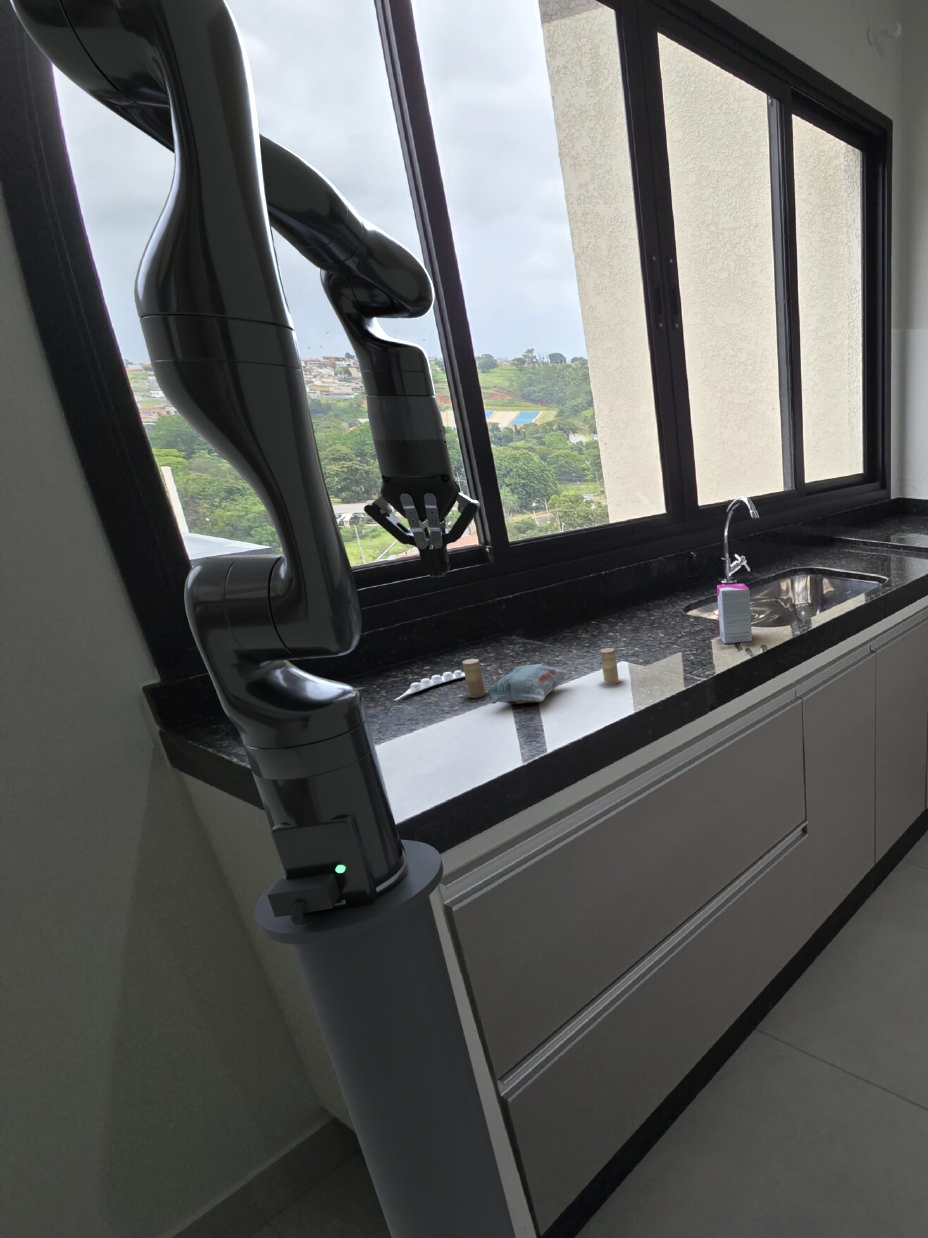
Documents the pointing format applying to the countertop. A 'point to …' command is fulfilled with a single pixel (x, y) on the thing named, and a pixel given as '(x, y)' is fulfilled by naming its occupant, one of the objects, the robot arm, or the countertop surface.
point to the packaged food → (527, 684)
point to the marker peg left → (473, 678)
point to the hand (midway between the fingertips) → (438, 575)
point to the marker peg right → (609, 666)
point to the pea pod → (432, 682)
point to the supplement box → (734, 613)
